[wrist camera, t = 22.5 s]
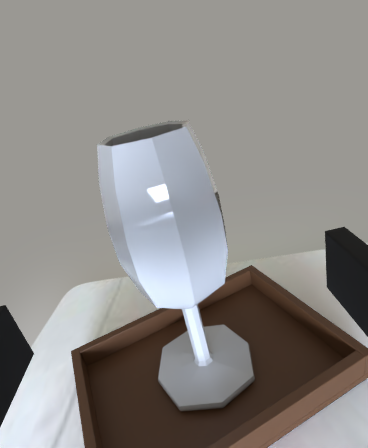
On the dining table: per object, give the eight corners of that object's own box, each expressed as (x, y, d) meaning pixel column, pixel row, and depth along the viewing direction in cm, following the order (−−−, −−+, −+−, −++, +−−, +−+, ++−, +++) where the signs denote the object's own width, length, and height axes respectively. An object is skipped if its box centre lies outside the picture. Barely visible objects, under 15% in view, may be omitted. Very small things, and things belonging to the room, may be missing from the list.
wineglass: (151, 349, 31) (76, 141, 23) (231, 319, 33) (190, 112, 24) (170, 433, 24) (68, 165, 15) (274, 389, 25) (237, 119, 16)
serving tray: (254, 282, 38) (251, 265, 37) (371, 375, 25) (373, 351, 24) (79, 369, 32) (70, 350, 31) (111, 555, 18) (97, 535, 17)
